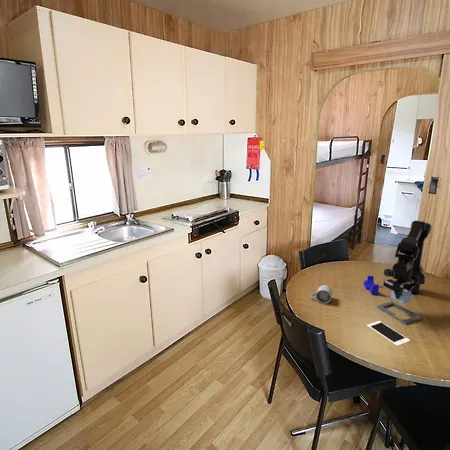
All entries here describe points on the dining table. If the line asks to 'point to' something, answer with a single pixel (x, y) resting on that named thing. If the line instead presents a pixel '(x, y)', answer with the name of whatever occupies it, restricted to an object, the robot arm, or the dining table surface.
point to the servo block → (403, 296)
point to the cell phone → (388, 333)
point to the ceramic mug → (322, 294)
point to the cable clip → (371, 285)
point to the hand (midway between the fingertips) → (400, 297)
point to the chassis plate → (407, 321)
